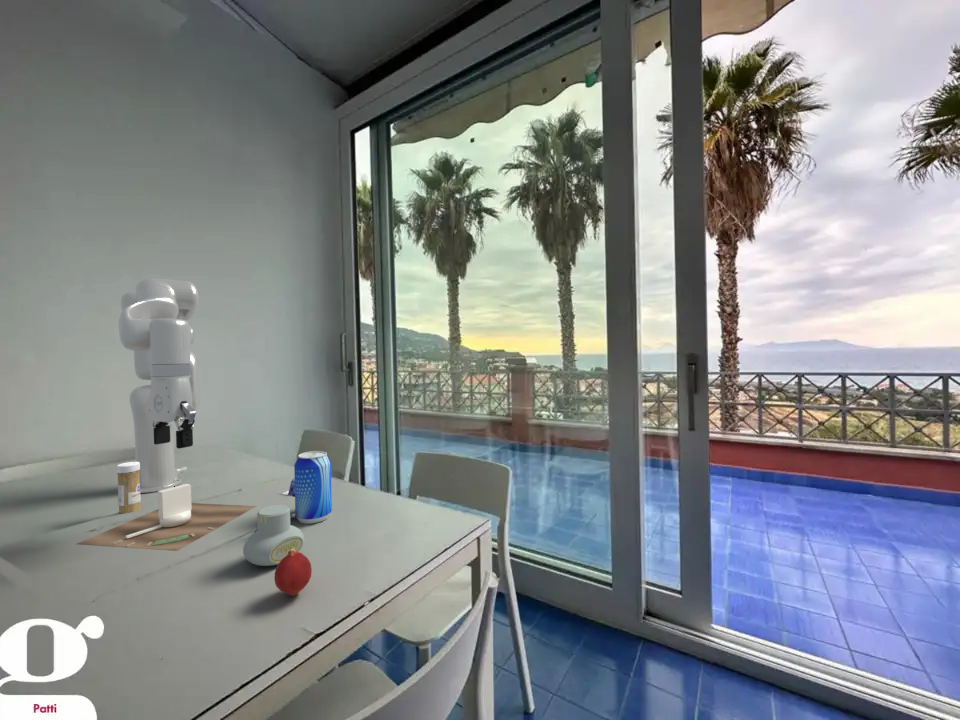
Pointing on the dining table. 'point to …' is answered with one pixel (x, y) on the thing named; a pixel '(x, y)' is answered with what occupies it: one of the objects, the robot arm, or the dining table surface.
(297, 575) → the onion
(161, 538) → the dial board
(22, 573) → the dining table surface
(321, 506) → the beer can
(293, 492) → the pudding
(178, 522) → the tuning knob
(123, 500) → the sprinkles bottle
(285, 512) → the air freshener
